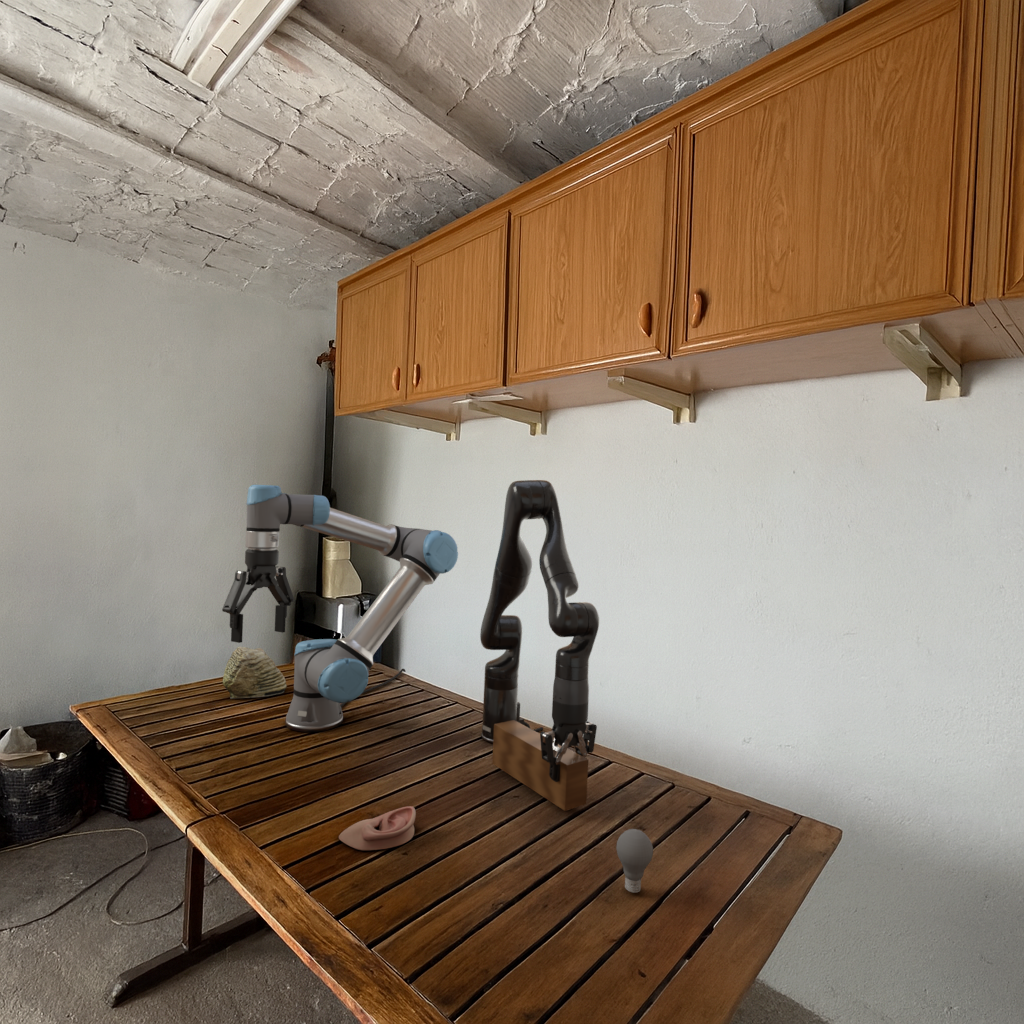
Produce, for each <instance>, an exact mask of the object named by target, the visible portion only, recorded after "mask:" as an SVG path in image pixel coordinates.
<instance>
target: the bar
mask: <svg viewBox="0 0 1024 1024" xmlns="http://www.w3.org/2000/svg"><path fill="white" fill-rule="evenodd" d="M530 728H531V727H530ZM530 728H528V727H526V726H524V725H523V724H521V723H519V722H517V721H515V720H511V721H507V722H502V723H497V724H494V736H493V743H492V759H491V760H492V761H491V763H492V765H493V766H495V767H497V768H498V769H500V770H501V771H503V772H504V773H506V774H508V775H509V776H510V777H512V778H513V779H515V780H517V781H518V782H519V783H521V784H522V785H524V786H526V787H527V788H529V789H531V790H532V791H534V793H537V794H538V795H540V796H541V797H543V798H544V799H546V800H547V801H549V802H550V803H552V804H554V805H555V806H556V807H558V808H559V809H561V810H563V811H564V812H566V811H569V810H572V809H573V810H574V809H576V808H578V807H582V806H584V805H587V797H588V779H589V778H588V777H589V758H587V757H583V756H581V755H579V754H577V753H576V752H575V750H571V748H567V750H566V753H565V754H564V755H563V756H562V759H561V761H560V781H558V782H555V781H553V780H552V779H551V778H550V776H549V768H550V763H549V762H547V761H545V760H543V759H542V753H541V740H540V733H541V732H536V731H534V729H532V728H531V729H530ZM558 747H559V748H561V747H562V746H560V745H559V744H558ZM556 756H557V753H556V755H555V757H556Z"/></svg>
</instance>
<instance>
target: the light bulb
mask: <svg viewBox="0 0 1024 1024" xmlns="http://www.w3.org/2000/svg"><path fill="white" fill-rule="evenodd" d="M615 849H616V854H617V857H618V859H619V861H620V863H621V865H622V867H623V873H624V874H623V875H624V876H625V878H624V888H625V890H627V891H628V892H630V893H634V894H635V893H639V892H640V891H641V889H642V887H641V886H642V879H643V877H644V875H645V871H646V868H647V867H648V866H649V864H650V863H651V861H652V859H653V855H654V847H653V843H652V841H651V838H649V836H648V835H647V834H646V833H645V832H643V831H642V830H641V829H636V828H629V829H627V830H625V831H623V832H622V833H621V834H620V835H619V837H618V839H617V841H616V847H615Z"/></svg>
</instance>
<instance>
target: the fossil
mask: <svg viewBox="0 0 1024 1024" xmlns="http://www.w3.org/2000/svg"><path fill="white" fill-rule="evenodd" d="M222 676H223V677H222V685H223V687H224V688H225V690H226V691H228V693H229V698H230V699H250V698H264V697H271V696H275V695H281V694H284V693H285V691H286V689H287V687H288V686H287V680H286V678H285V676H284V674H283V673H282V672H281V669H279V668H278V667H277V665H276V663H275V662H274V660H273V659H272V658H271V657H270V656H269V655H268V654H267V653H266V652H265V650H264V649H263V648H260V647H258V648H251V647H247V646H246V647H245V646H238V647H237V648H236V649H235V650H233V651H232V653H231V656H230V657H229V659H228V660H227V663H226V666H225V668H224V671H223V675H222Z"/></svg>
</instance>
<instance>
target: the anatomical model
mask: <svg viewBox="0 0 1024 1024" xmlns="http://www.w3.org/2000/svg"><path fill="white" fill-rule="evenodd" d="M416 816H417V812H416V809H415V807H414V806H413V805H412V806H410V805H407V806H403V807H399V808H395V809H393V810H390V811H388V812H385V813H383V814H380V815H378V816H376V817H373V818H367V819H363V820H360V821H356V822H354V824H351V825H350V826H348V827H346V828H345V829H344V830H343V831H342V832H341V833H340V834H339V835H338V839H339V840H340V841H341V842H342V843H344V844H345V845H347V846H349V847H351V848H353V849H355V850H359V851H378V850H386V849H391V848H395V847H398V846H401V845H404V844H405V843H407V842H409V841H410V840H412V839H413V837H414V835H415V826H414V823H415V821H416Z"/></svg>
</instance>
